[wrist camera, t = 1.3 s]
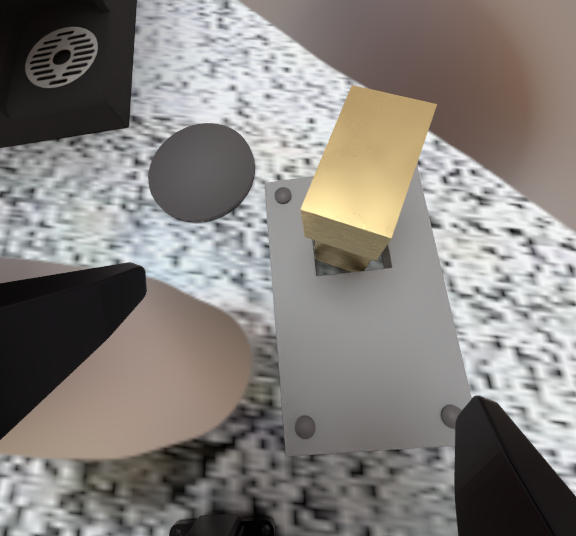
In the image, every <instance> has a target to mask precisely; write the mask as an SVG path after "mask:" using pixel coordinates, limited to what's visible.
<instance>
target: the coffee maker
mask: <svg viewBox="0 0 576 536" xmlns="http://www.w3.org/2000/svg"><path fill="white" fill-rule="evenodd" d="M136 1H137V0H0V148H1V147H7V146H13V145H19V144H26V143H32V142H38V141H45V140H51V139H57V138H63V137H70V136H76V135H82V134H88V133H95V132H101V131H107V130H113V129H120V128H126V127H128V126H129V111H130V96H131V80H132V64H133V49H134V33H135V17H136Z"/></svg>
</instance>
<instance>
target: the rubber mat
mask: <svg viewBox="0 0 576 536" xmlns="http://www.w3.org/2000/svg"><path fill="white" fill-rule="evenodd" d="M254 173H255V164H254V159H253V155H252V152H251V150H250V148H249V145H248V144H247V142H246V141H245V139H244V138H243V137H242V136H241V135H240V134H239V133H237V132H236V131H235V130H233V129H231V128H229V127H226V126H224V125H220V124H213V123H204V124H197V125H193V126H189V127H186V128H184V129H182V130H180V131H178V132H177V133H175V134H173V135H172V136H171V137H169V138H168V139H167V140H166V141H165V142H164V143H163V144H162V145H161V146H160V148H159V149H158V150H157V152H156V154H155V155H154V157H153V159H152V162H151V165H150V169H149V176H148V179H149V188H150V191H151V194H152V196H153V198H154V200H155V201H156V202H157V204H158V205H159V206H160V207H161V208H162V209H163V210H164V211H166V212H167V213H168V214H170V215H171V216H173V217H175V218H177V219H180V220H183V221H187V222H206V221H211V220H214V219H217V218H219V217H221V216H224V215H225V214H227V213H229V212H230V211H232V210H233V209H234V208H235V207H237V206H238V205H239V204H240V203H241V202H242V200H243V199H244V198H245V197H246V195H247V193H248V192H249V190H250V188H251V185H252V182H253V179H254Z"/></svg>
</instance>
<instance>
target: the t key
mask: <svg viewBox="0 0 576 536" xmlns="http://www.w3.org/2000/svg"><path fill="white" fill-rule="evenodd" d="M436 105H437V104H433V103H429V102H425V101H420V100H416V99H411V98H407V97H402V96H398V95H393V94H389V93H385V92H380V91H376V90H371V89H367V88H362V87H358V86H354V85H352V86H351V89H350V91H349V94H348V96H347V98H346V101H345V103H344V106H343V108H342V110H341V113H340V115H339V118H338V120H337V122H336V125H335V127H334V130H333V132H332V135H331V137H330V139H329V142H328V144H327V147H326V149H325V151H324V154H323V156H322V159H321V161H320V163H319V166H318V168H317V171H316V173H315V175H314V178H313V180H312V183H311V185H310V187H309V190H308V192H307V195H306V197H305V199H304V202H303V204H302V207H301V209H300V210H301V217H302V223H303V230H304V237H306V238H309V239H312V240H315V250H316V260H318V261H321V262H324V263H327V264H330V265H332V266H335V267H338V268H341V269H344V270H347V271H350V272H360V271H364V270H365V269H366V267H367V265H368V264H369V262H370V260H374V261H377V259H378V258H379V256H380V255H381V253H382V252H383V250H384V249H385V247H386V246H387V244H388V243H389V241H390V240H391V238H392V236H393V233H394V230H395V227H396V224H397V221H398V218H399V215H400V212H401V209H402V206H403V203H404V200H405V197H406V194H407V191H408V188H409V185H410V182H411V179H412V176H413V173H414V171H415V168H416V165H417V162H418V159H419V156H420V153H421V150H422V147H423V144H424V141H425V138H426V135H427V132H428V129H429V126H430V123H431V120H432V117H433V114H434V111H435V108H436Z"/></svg>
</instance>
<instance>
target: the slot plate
mask: <svg viewBox="0 0 576 536" xmlns="http://www.w3.org/2000/svg"><path fill="white" fill-rule="evenodd" d="M313 178H314V176H312V177H305V178H298V179H291V180H284V181H276V182H269V183H265V196H266V209H267V222H268V234H269V247H270V260H271V273H272V286H273V299H274V312H275V324H276V337H277V350H278V363H279V376H280V389H281V401H282V414H283V427H284V440H285V453H286V456H300V455H316V454H332V453H348V452H363V451H379V450H395V449H411V448H426V447H442V446H455V423H456V419H457V416H458V415H459V413H460V412H461V411H462V410H463V408H464V407H465V406H466V405H467V404H468V402H469V401H470V400H471V399H472V398H471V394H470V389H469V385H468V381H467V376H466V372H465V368H464V364H463V359H462V355H461V351H460V347H459V342H458V338H457V334H456V330H455V325H454V321H453V317H452V313H451V308H450V304H449V300H448V296H447V291H446V287H445V283H444V278H443V274H442V270H441V266H440V261H439V257H438V253H437V249H436V244H435V240H434V236H433V232H432V227H431V223H430V219H429V215H428V210H427V206H426V202H425V197H424V193H423V189H422V185H421V180H420V176H419V172H418V168H417V165H416V168H415V171H414V173H413V176H412V179H411V182H410V185H409V188H408V191H407V194H406V197H405V200H404V203H403V206H402V209H401V212H400V215H399V218H398V221H397V224H396V227H395V230H394V233H393V236H392V238H391V240H390V241H389V243H388V244H387V246H386V247H385V249H384V250H383V252H382V256H383V261H384V267H385V269H378V270H369V271H360V272H351V273H342V274H333V275H324V276H316V269H315V261H314V252H313V244H312V239H309V238H306V237H304V230H303V223H302V217H301V210H300V209H301V207H302V204H303V202H304V199H305V197H306V195H307V192H308V190H309V187H310V185H311V183H312V180H313Z"/></svg>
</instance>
